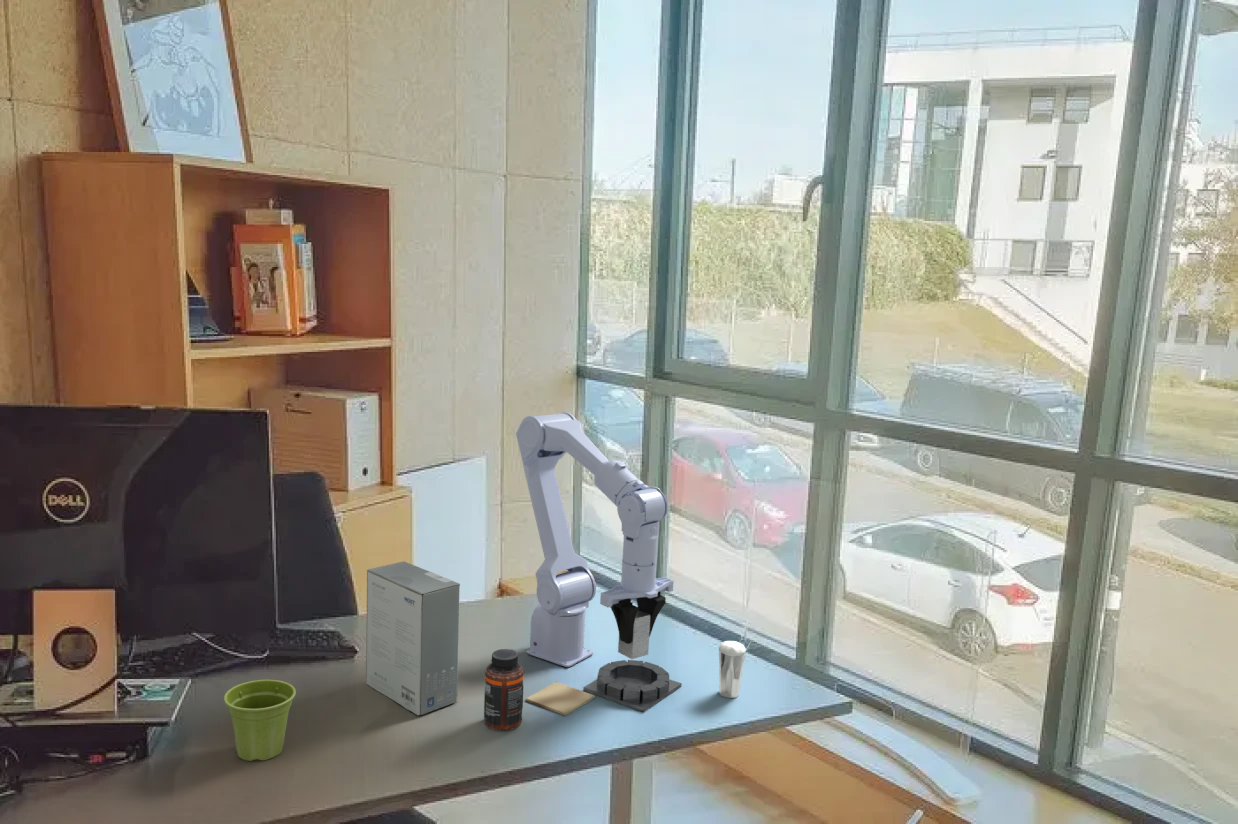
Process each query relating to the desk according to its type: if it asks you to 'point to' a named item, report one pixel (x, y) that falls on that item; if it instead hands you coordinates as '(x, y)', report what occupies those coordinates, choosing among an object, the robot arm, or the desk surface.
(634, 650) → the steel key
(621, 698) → the dark grey collar
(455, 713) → the desk surface
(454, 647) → the hard drive box
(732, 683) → the milkshake
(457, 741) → the desk surface
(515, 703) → the supplement bottle
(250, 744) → the plant pot
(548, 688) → the cork pad
